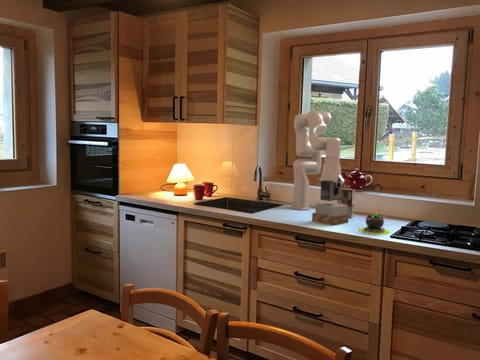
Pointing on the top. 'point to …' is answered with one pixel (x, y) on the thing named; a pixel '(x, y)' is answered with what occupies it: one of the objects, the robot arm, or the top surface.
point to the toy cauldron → (374, 225)
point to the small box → (329, 191)
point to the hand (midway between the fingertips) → (330, 193)
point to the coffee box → (347, 200)
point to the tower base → (330, 219)
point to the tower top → (331, 209)
